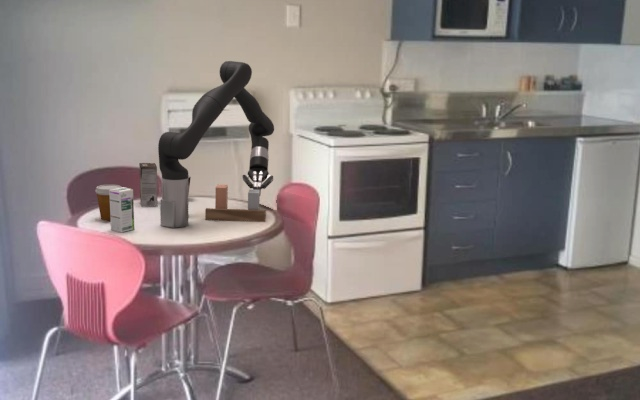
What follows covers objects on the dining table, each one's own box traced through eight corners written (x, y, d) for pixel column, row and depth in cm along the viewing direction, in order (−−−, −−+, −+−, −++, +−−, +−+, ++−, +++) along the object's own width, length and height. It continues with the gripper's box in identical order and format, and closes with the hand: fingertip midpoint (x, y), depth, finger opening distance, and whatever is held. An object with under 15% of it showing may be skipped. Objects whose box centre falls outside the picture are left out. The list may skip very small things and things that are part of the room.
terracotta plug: (217, 209, 266) (217, 184, 264) (227, 209, 266) (227, 184, 264) (215, 212, 260) (215, 187, 258) (225, 213, 260) (226, 187, 258)
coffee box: (139, 201, 274) (139, 162, 271) (156, 201, 276) (155, 162, 273) (141, 207, 266) (140, 166, 262) (157, 206, 268) (157, 166, 264)
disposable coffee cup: (126, 216, 251) (126, 184, 248) (118, 222, 242) (117, 190, 239) (101, 215, 251) (100, 183, 248) (92, 221, 242) (91, 189, 239)
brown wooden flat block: (209, 212, 262) (209, 202, 261) (266, 213, 263) (266, 204, 262) (205, 219, 250) (205, 209, 249) (264, 221, 251) (264, 211, 250)
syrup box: (121, 232, 229) (120, 191, 226) (110, 229, 232) (108, 188, 229) (134, 229, 234) (133, 188, 230) (123, 226, 237) (122, 186, 234)
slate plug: (248, 214, 259) (249, 189, 257) (259, 215, 259) (259, 189, 257) (247, 218, 253) (248, 192, 251) (258, 219, 253) (258, 193, 251)
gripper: (242, 154, 272) (239, 191, 263) (275, 155, 272) (273, 191, 263) (243, 165, 278) (240, 201, 269) (275, 166, 278) (273, 201, 269)
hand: (256, 196), depth 266 cm, fingers closed
